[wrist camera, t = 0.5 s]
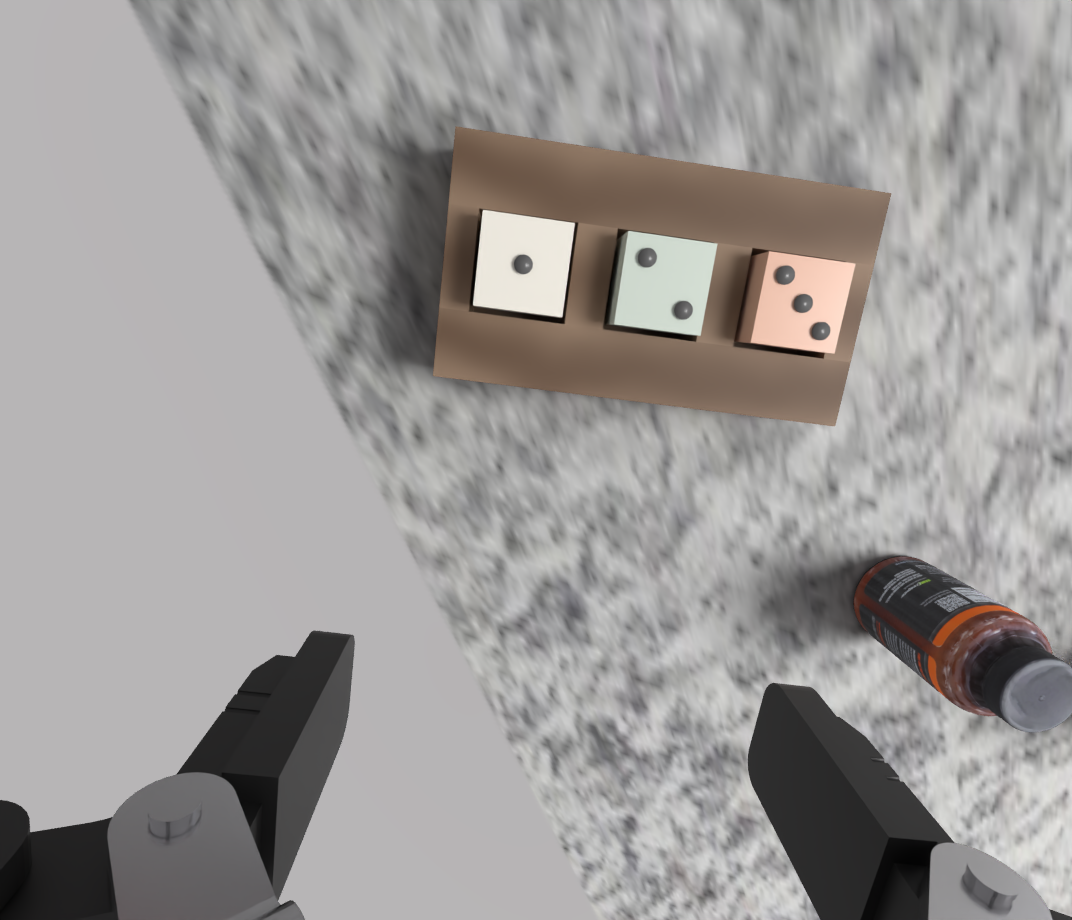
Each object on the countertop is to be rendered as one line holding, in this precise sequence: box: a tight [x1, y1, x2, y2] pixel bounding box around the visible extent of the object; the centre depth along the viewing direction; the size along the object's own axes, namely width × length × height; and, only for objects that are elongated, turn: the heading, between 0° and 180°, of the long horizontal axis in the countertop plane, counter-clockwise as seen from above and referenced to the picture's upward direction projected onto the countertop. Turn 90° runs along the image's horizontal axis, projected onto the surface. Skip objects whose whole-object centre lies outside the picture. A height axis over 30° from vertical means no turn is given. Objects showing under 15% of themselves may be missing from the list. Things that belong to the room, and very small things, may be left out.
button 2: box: [605, 231, 717, 336], centre depth 30 cm, size 4×4×3 cm
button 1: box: [473, 210, 575, 318], centre depth 30 cm, size 4×4×3 cm
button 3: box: [734, 251, 855, 354], centre depth 31 cm, size 4×4×3 cm
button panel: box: [433, 127, 891, 426], centre depth 32 cm, size 12×22×4 cm, turn 83°
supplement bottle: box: [854, 556, 1072, 732], centre depth 34 cm, size 6×6×11 cm
